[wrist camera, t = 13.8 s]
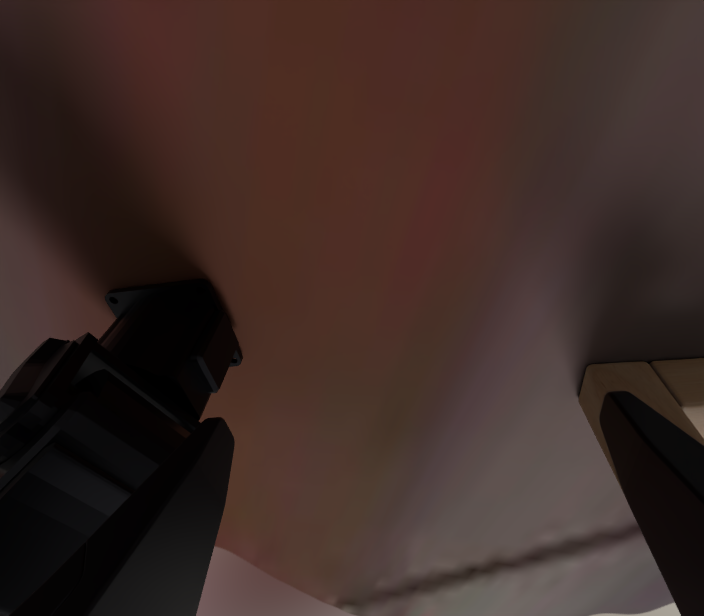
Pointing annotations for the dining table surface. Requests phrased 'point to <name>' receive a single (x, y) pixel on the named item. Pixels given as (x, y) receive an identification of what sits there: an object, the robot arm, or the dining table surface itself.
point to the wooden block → (649, 393)
